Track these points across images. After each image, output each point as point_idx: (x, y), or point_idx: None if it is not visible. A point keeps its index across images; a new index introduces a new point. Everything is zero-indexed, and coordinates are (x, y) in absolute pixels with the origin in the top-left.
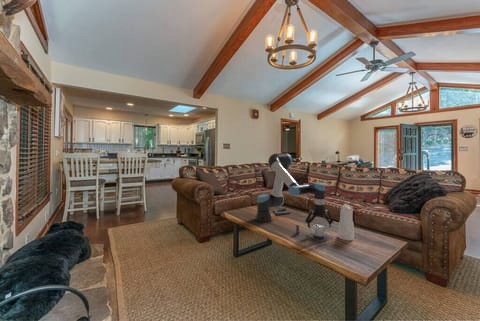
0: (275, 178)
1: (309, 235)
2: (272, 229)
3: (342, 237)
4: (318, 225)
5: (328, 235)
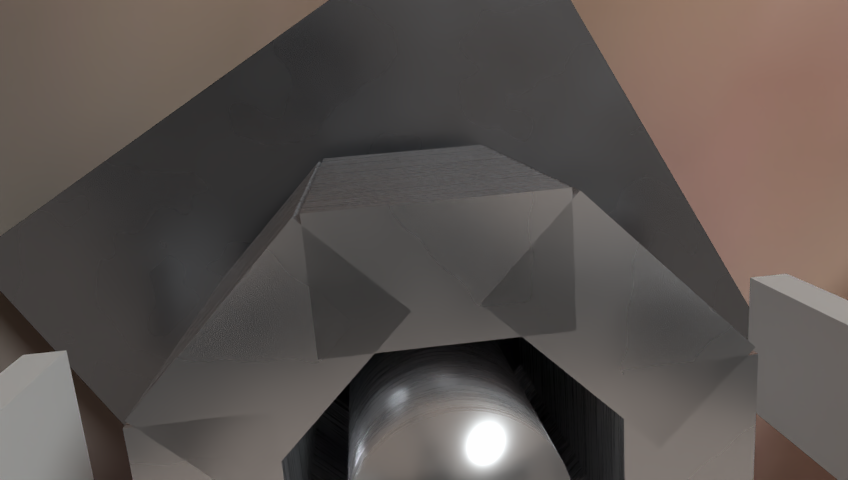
0: None
1: (112, 303)
2: None
3: None
4: (480, 328)
5: (714, 259)
